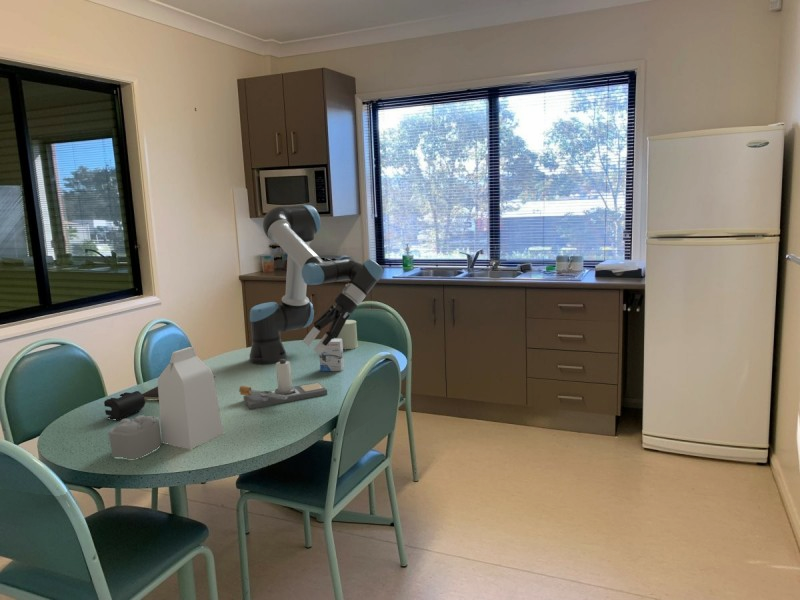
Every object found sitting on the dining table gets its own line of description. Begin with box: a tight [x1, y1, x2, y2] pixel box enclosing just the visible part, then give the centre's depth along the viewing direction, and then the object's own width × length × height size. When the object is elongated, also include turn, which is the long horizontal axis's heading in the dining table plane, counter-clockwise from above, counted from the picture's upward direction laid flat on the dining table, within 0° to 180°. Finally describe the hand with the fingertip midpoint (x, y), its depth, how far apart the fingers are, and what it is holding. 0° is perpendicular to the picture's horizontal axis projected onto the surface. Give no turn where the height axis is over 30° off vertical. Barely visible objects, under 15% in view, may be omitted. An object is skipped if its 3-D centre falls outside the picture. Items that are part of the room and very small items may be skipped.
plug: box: [274, 358, 296, 395], centre depth 199 cm, size 7×7×13 cm
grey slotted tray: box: [243, 381, 328, 410], centre depth 200 cm, size 10×26×3 cm, turn 115°
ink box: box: [318, 338, 345, 372], centre depth 228 cm, size 9×5×12 cm, turn 84°
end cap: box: [103, 390, 146, 421], centre depth 190 cm, size 10×7×7 cm
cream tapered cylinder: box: [336, 319, 359, 351], centre depth 261 cm, size 9×9×12 cm
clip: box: [238, 385, 288, 400], centre depth 194 cm, size 3×20×3 cm, turn 60°
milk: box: [157, 346, 224, 450], centre depth 167 cm, size 12×12×26 cm
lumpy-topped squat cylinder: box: [108, 414, 162, 459], centre depth 162 cm, size 10×13×9 cm
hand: (310, 347), depth 201 cm, fingers open, 13 cm apart
